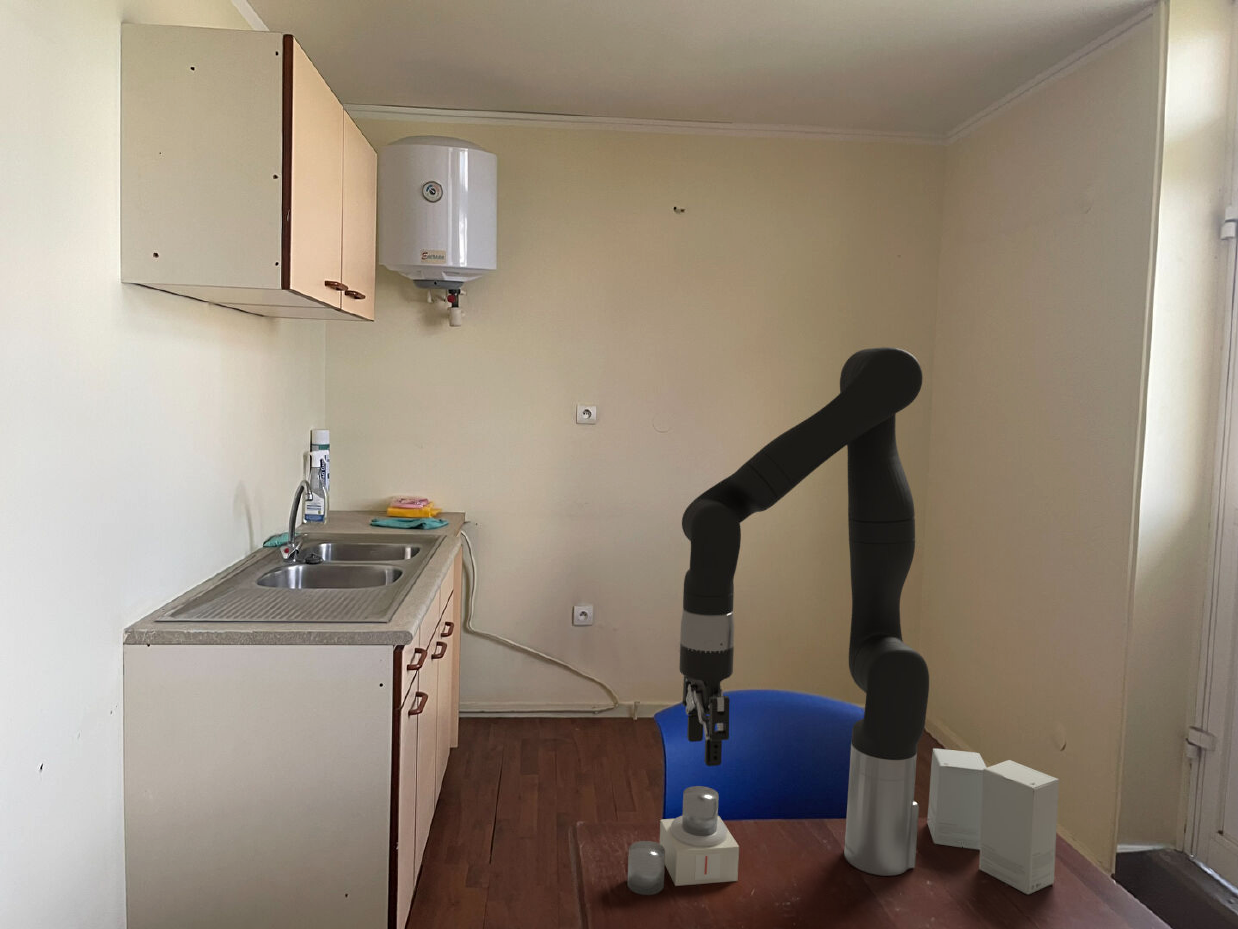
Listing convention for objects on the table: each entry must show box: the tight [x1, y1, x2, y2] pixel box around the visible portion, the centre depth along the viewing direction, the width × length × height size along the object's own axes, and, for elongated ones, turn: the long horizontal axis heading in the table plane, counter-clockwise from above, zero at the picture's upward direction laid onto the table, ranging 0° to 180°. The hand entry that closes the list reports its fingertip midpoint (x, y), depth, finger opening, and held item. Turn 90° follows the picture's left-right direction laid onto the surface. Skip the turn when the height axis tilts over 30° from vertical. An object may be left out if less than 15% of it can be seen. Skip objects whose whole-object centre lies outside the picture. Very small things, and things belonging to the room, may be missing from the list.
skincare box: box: [978, 759, 1060, 895], centre depth 128 cm, size 8×7×16 cm
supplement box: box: [926, 748, 987, 851], centre depth 140 cm, size 7×7×13 cm
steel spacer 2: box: [681, 785, 719, 836], centre depth 128 cm, size 5×5×5 cm
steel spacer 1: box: [627, 840, 666, 896], centre depth 123 cm, size 5×5×5 cm
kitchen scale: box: [659, 815, 740, 887], centre depth 128 cm, size 9×9×6 cm
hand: (703, 752), depth 127 cm, fingers open, 8 cm apart
